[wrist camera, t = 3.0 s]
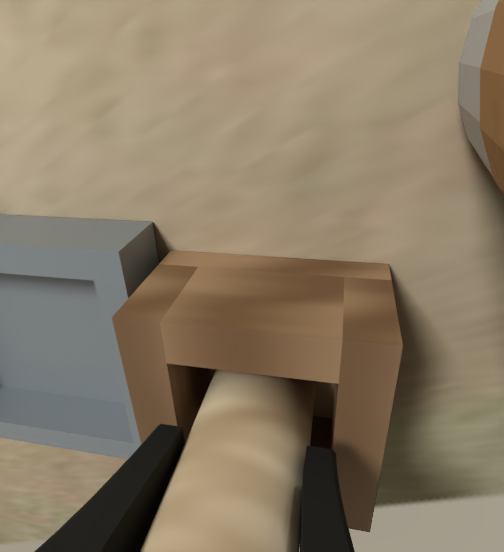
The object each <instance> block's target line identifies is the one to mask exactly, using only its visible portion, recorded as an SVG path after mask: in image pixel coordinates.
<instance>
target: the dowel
mask: <svg viewBox="0 0 504 552" xmlns="http://www.w3.org/2000/svg"><path fill="white" fill-rule="evenodd" d="M316 382H317V381H310V380H302V379H294V378H285V377H277V376H268V375H260V374H252V373H243V372H235V371H226V370H218V369H216V371H215V373H214V376H213V378H212V381H211V383H210V385H209V388H208V390H207V393H206V395H205V397H204V400H203V402H202V404H201V407H200V409H199V412H198V414H197V416H196V419H195V421H194V424H193V426H192V428H191V431H190V433H189V436H188V438H187V440H186V443H185V445H184V448H183V450H182V452H181V455H180V457H179V460H178V462H177V464H176V467H175V469H174V471H173V474H172V476H171V479H170V481H169V483H168V486H167V488H166V491H165V493H164V495H163V498H162V500H161V503H160V505H159V507H158V510H157V512H156V515H155V517H154V519H153V522H152V524H151V527H150V529H149V531H148V534H147V536H146V538H145V541H144V543H143V546H142V548H141V550H140V552H299V547H300V537H301V514H302V484H303V470H304V462H305V455H306V447H307V446H310V440H311V430H312V421H313V411H314V401H315V392H316Z"/></svg>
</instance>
